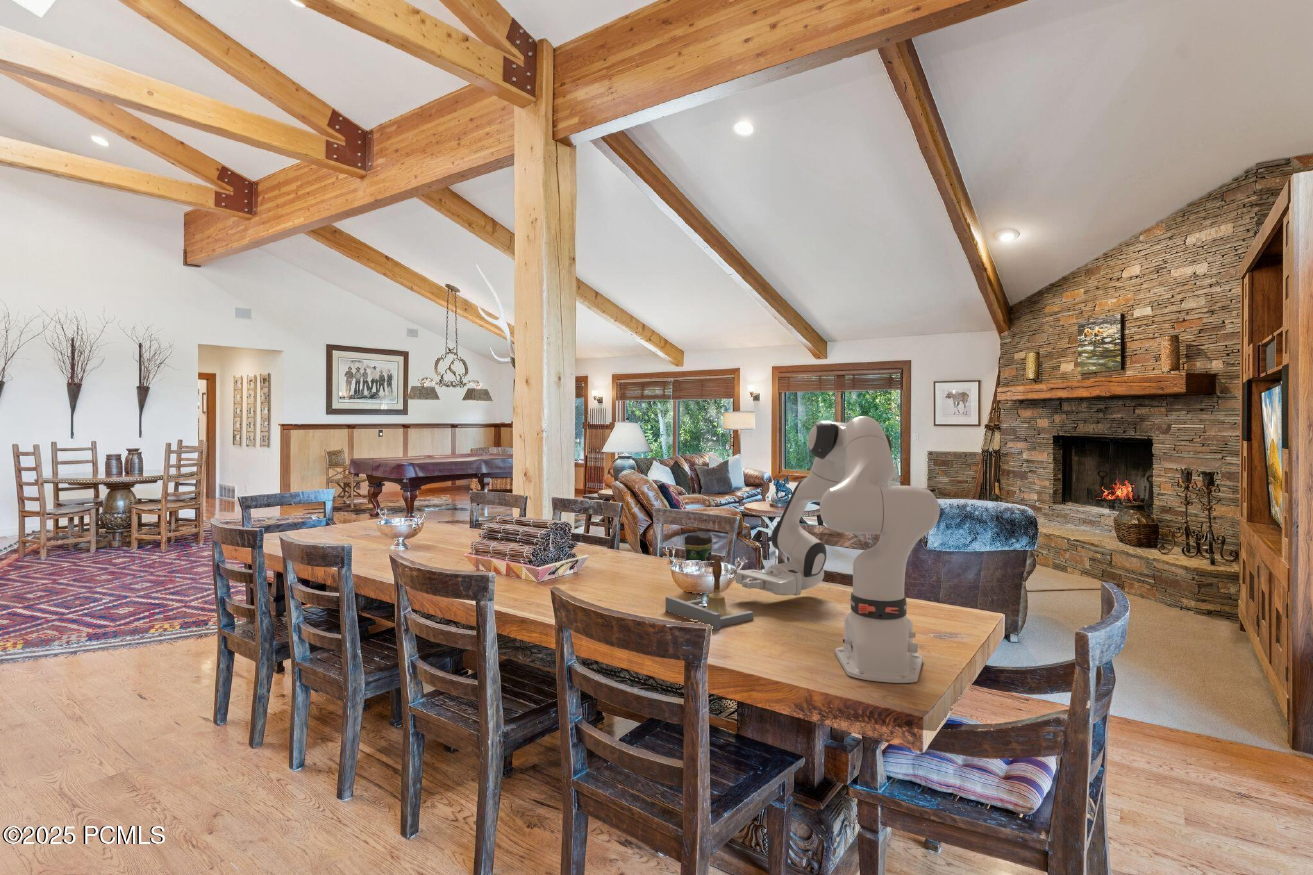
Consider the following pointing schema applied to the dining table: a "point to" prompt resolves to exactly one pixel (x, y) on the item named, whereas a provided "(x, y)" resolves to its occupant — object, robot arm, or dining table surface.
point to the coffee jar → (698, 546)
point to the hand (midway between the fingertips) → (745, 585)
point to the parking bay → (704, 613)
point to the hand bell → (717, 592)
